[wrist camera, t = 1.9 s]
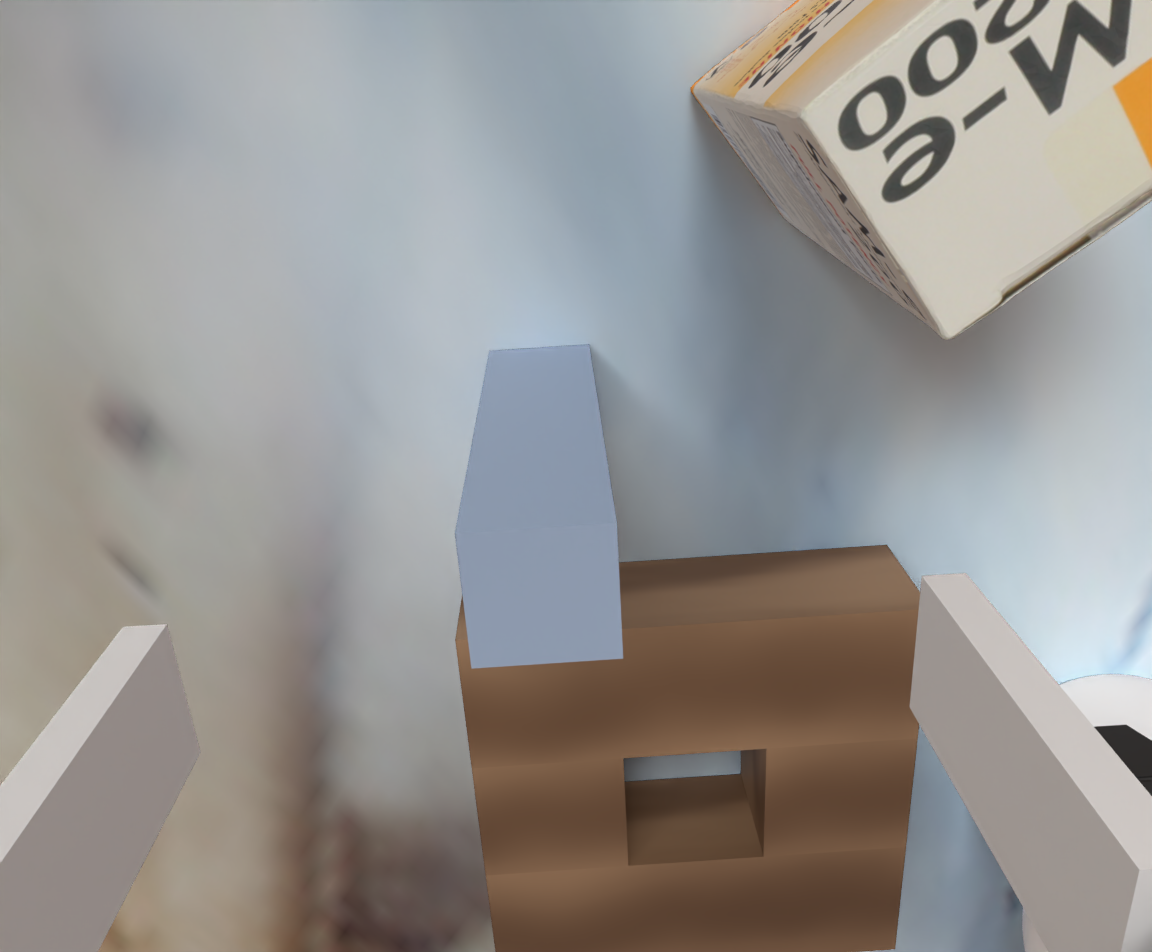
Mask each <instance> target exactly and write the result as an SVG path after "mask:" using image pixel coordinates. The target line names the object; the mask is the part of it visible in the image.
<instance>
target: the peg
mask: <svg viewBox="0 0 1152 952" xmlns="http://www.w3.org/2000/svg"><path fill="white" fill-rule="evenodd" d="M455 538H456V547H457V555H458V563H459V571H460V579H461V587H462V595H463V604H464V612H465V620H466V628H467V636H468V644H469V652H470V660H471V669H473V668H488V667H503V666H518V665H533V664H549V663H564V662H579V661H594V660H609V659H623V645H622V623H621V601H620V579H619V557H618V536H617V520H616V514H615V507H614V501H613V494H612V488H611V481H610V475H609V469H608V462H607V456H606V449H605V443H604V436H603V430H602V424H601V417H600V411H599V404H598V398H597V391H596V385H595V378H594V372H593V366H592V359H591V353H590V346H589V344H588V345H572V346H557V347H542V348H526V349H511V350H495V351H489V356H488V361H487V366H486V372H485V377H484V382H483V387H482V393H481V398H480V403H479V409H478V414H477V419H476V424H475V430H474V435H473V440H472V446H471V451H470V456H469V461H468V467H467V472H466V477H465V483H464V488H463V493H462V498H461V504H460V509H459V514H458V520H457V525H456V530H455Z"/></svg>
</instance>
